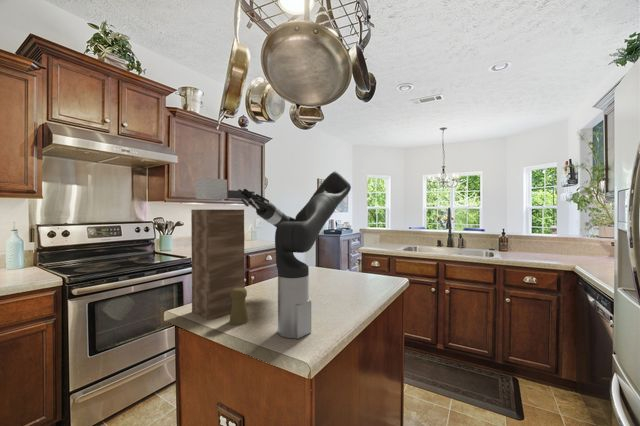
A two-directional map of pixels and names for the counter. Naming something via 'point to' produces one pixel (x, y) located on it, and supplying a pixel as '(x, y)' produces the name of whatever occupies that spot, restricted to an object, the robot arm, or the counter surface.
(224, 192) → the meat mallet
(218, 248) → the tall wooden block
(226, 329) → the counter surface
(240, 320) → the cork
